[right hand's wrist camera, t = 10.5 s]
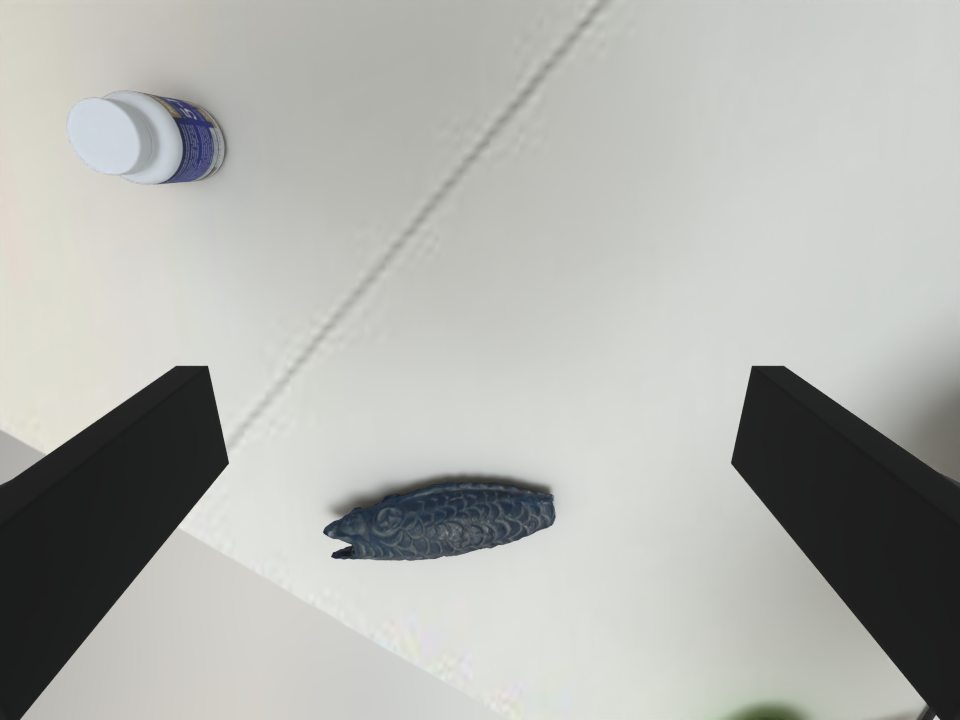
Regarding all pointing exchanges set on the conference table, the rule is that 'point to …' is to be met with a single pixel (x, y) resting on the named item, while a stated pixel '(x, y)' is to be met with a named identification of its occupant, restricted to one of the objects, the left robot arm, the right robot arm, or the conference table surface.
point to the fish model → (442, 522)
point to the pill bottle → (145, 138)
